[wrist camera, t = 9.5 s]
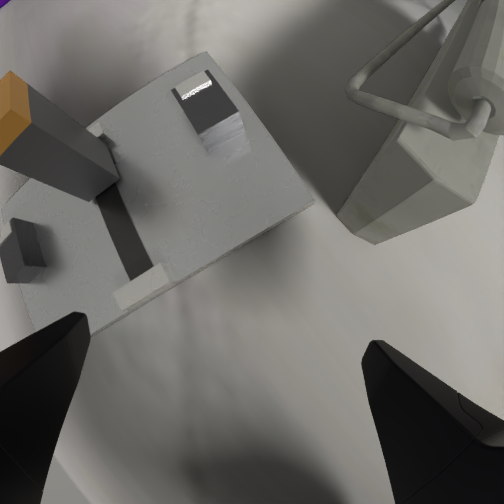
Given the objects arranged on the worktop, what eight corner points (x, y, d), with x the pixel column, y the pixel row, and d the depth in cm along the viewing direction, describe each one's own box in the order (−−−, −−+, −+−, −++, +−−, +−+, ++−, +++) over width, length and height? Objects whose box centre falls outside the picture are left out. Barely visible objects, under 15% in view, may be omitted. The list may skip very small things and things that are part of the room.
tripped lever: (119, 178, 18) (10, 109, 8) (88, 202, 18) (-27, 152, 8) (106, 144, 19) (9, 70, 9) (77, 167, 19) (-25, 109, 9)
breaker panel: (313, 204, 18) (319, 186, 14) (56, 358, 19) (25, 367, 15) (209, 58, 20) (198, 28, 16) (8, 211, 21) (-19, 203, 17)
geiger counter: (569, 216, 4) (543, -33, 4) (335, 18, 4) (473, -82, 5) (385, 259, 17) (484, 51, 18) (301, 197, 18) (432, 14, 18)
